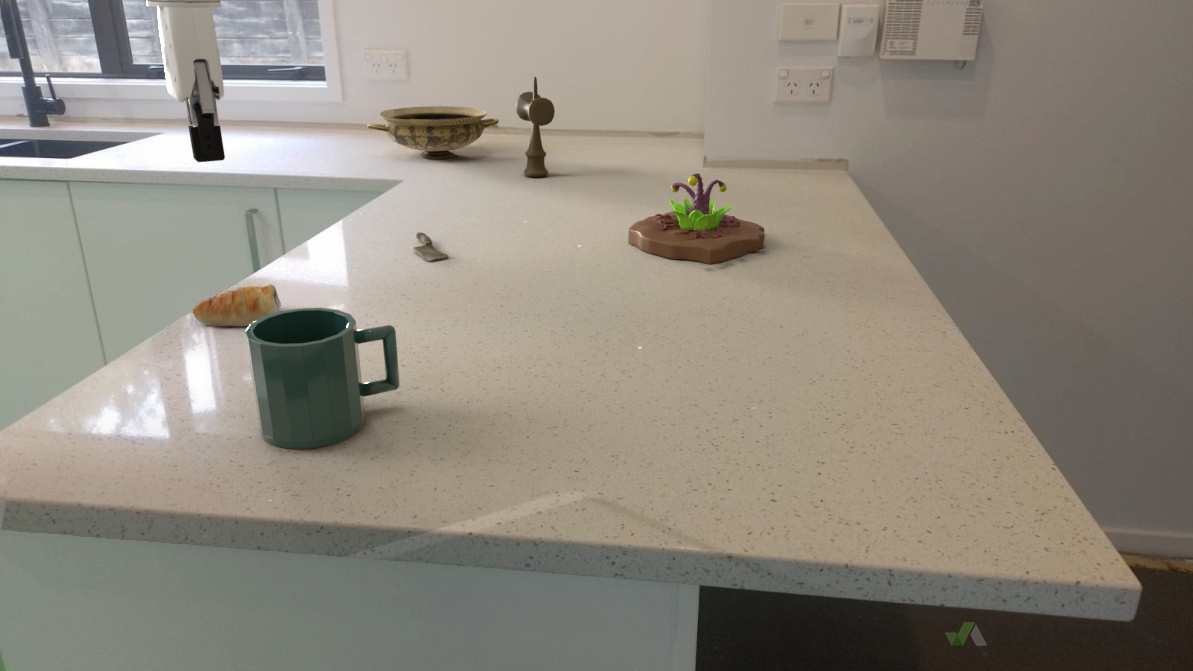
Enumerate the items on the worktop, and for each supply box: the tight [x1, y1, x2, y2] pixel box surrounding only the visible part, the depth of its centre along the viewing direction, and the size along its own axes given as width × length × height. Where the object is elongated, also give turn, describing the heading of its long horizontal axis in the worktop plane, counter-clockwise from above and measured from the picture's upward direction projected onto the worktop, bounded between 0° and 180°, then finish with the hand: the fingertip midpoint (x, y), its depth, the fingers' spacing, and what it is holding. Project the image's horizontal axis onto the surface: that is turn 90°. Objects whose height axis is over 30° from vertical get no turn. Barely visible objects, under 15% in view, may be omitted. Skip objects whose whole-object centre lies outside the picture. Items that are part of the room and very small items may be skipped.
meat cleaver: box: [412, 231, 449, 262], centre depth 125 cm, size 12×1×5 cm
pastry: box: [192, 283, 282, 328], centre depth 97 cm, size 9×7×4 cm
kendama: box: [515, 76, 556, 178], centre depth 172 cm, size 6×10×20 cm, turn 21°
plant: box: [627, 173, 766, 265], centre depth 129 cm, size 20×20×11 cm
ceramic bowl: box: [366, 105, 499, 159], centre depth 192 cm, size 30×24×10 cm
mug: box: [244, 307, 401, 450], centre depth 74 cm, size 12×9×10 cm
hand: (209, 159), depth 99 cm, fingers closed
